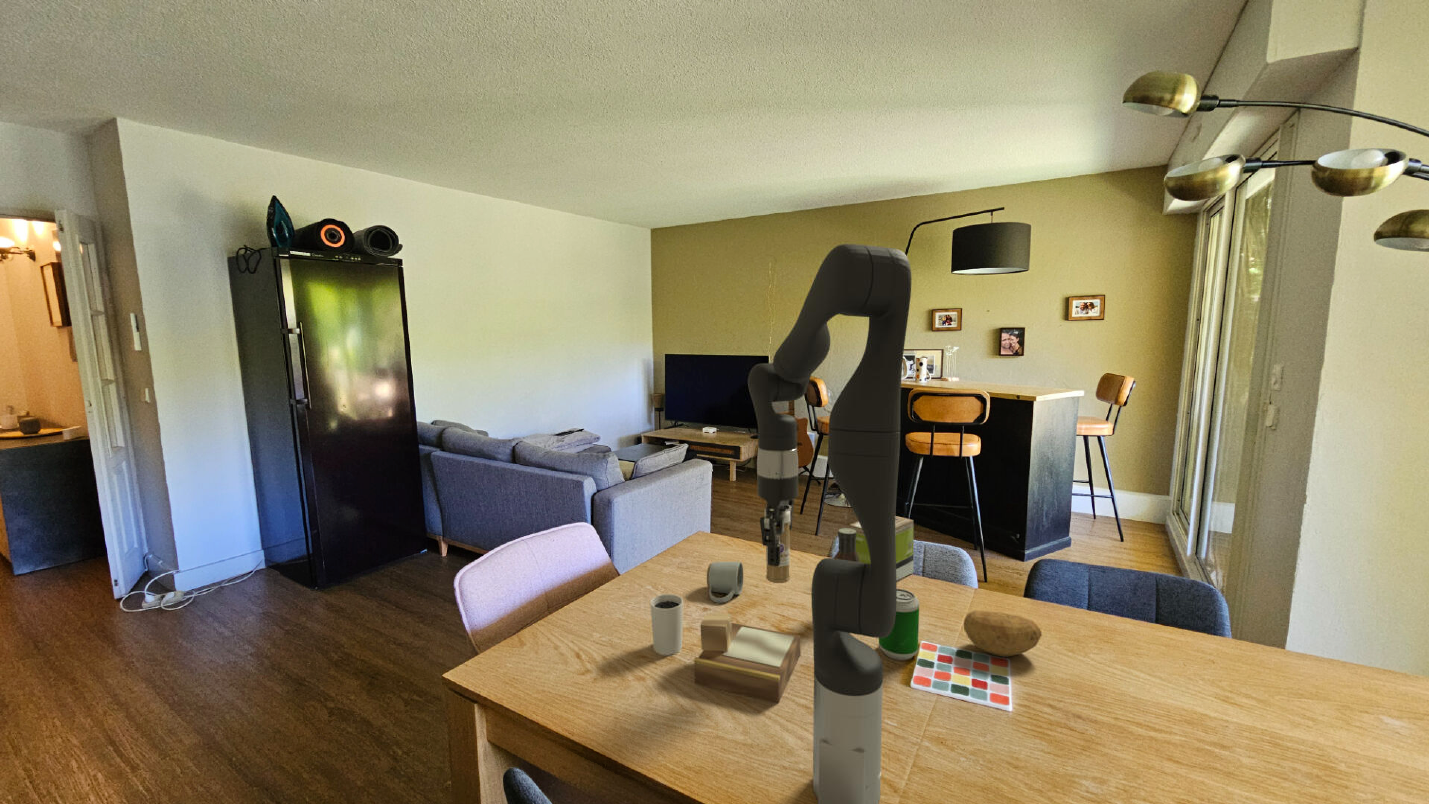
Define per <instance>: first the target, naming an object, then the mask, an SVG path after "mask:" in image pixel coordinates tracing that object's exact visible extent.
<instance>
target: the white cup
mask: <svg viewBox="0 0 1429 804" xmlns="http://www.w3.org/2000/svg"><path fill="white" fill-rule="evenodd" d="M649 603H650V605H649V606H650V615H651V618H650V619H651V629H652V642H653V643H652V644H653V651H654V650H655V651H656V652H657V653H659V654H658V655H660V654H662V655H661V656H672V655H671V654H674V655H675V653H676V654H678V653H679V652H680V651H682V649H681V648H683V629H684V628H683V626H684V625H683V621H684V619H683V618H684V600H683V597H682V596H679V595H677V594H673V593H665V594H663V593H662V594H659V595H656V596H654V597H653V598H651V600H650V602H649ZM655 651H654V652H655ZM656 652H655V653H656ZM677 652H678V653H677ZM657 653H656V654H657Z"/></svg>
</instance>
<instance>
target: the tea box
mask: <svg viewBox="0 0 1429 804" xmlns="http://www.w3.org/2000/svg"><path fill="white" fill-rule="evenodd" d="M849 528H850V529H853V530H856V534H857V537H856V552H857V555H858V558H859V560H860V562H862V563H868V564H871V561H870V554H869V549H868V545H867V541H866V538H865V535H864V533H863V530H862V528H861V525H860V523H859V521H858V520H857V521H856V522H853V523H850V524H849ZM914 534H915V533H914V519H910V518H906V517H901V516H897V515H895V537H896V582H897V581H899V580H901V579H903V578H905V577H906V576H907V577H908V576H909V575H911V574H913V573H914V549H915V548H914V542H915V541H914Z"/></svg>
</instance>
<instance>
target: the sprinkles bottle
mask: <svg viewBox="0 0 1429 804" xmlns="http://www.w3.org/2000/svg"><path fill="white" fill-rule="evenodd" d="M780 520H781V515H780ZM789 523H790V511H788V510H787V514H786V518H785V519H784V524H785V526H784V533H783V534H781V542H780V543H781V545H780V564H779V566H771V565H768V546H765V561H766V575H765V579H766V580H767V581H769V582H770V583H773V584H784V583H787V582H789V581H790V579H791V578H790V577H791V576H790V563H791V562H790V561H791V559H790V558H791V557H790V556H791V555H790V553H791V551H790V550H791V549H790V547H791V546H790V545H791V542H790V541H791V540H790V539H791V536H790V534H789V532H790V530H789ZM779 528H780V526H779V527H776V529H779ZM770 539H771V540H772V537H771V538H770Z"/></svg>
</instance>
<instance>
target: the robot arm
mask: <svg viewBox="0 0 1429 804" xmlns="http://www.w3.org/2000/svg"><path fill="white" fill-rule="evenodd" d="M912 277H913V276H912V268H911V264H910V261H909V259H908V256H907V254H906V253H904V252H903V251H902V250H900V249H898V248H897V249H896V248H892V247H885V246H884V247H883V246H876V245H866V244H856V243H855V244H854V243H844V244H843V243H842V244H839V245H838V244H837V246H835V247H834V248H832V249H831V250H830V251H829V252H828V253H827V255H826V256H825V258H824V259H823V261H822V262H821V264H820V266H819V269H817V273H816V275H815V277H814V279H813V282H812V284H811V287H810V288H809V291H808V293H807V295H806V297H805V299H804V302H803V305H802V307H801V310H800V312H799V315H798V317H797V319H796V322H795V324H794V326H793V327H792V329H791V330H790V332H789V333H788V335H787V336H786V337H785V339H784V340H783V341H782V343H781V344H780V346H778V349H777V350H776V352H775V353H774V355H773V361H772V362H771V363H770V362H769V363H767V362H766V363H758V364H755V365H754V366H753V367H752V368H751V370H750V372H749V373H748V378H747V386H748V387H747V388H748V391H749V394H750V397H751V401H752V404H753V408H754V412H755V417H756V421H757V428H758V429H757V431H758V433H757V435H758V436H757V437H758V438H757V439H758V442H757V443H758V447H757V449H758V450H757V459H756V470H757V471H756V473H757V474H756V475H757V476H756V478H757V479H756V480H757V481H756V482H757V483H756V485H757V489H756V490H757V492H756V493H757V496H758V498H760V499H762V500H764V501H765V502H766V506H765V508H764V513H763V515H764V516H761V517H760V519H759V525H760V533H761V534H760V535H761V541H762V546H763V547H766V546H768V565H771V566H779V564H780V545H781V543H780V542H781V534H783V533H784V526H785V524H784V519H785V518H786V514H787V510H788V511H790V523H789V535H790V532H791V531H792V529H793V517H794V516H793V514H794V504H795V501H794V499H797V497H798V495H799V456H798V424H797V423H798V422H797V420H796V418H795V417H794V416H792V415H790V414H785V413H781V412H780V413H779V412H776V411H775V409H774V408H773V403H780V402H782V403H783V402H793V401H797V400H799V399H801V398H803V397H804V396H805V395H806V393H807V389H808V387H809V381H810V380H811V377H812V374H813V373H814V372H815V371H816V370H817V369H818V367H819V368H820V366H821V365H822V364H823V362H824V361H825V359H826V358H827V356H828V354H829V352H830V349H831V335H830V329H829V326H828V322H829V321H830V320H831V319H832V318H834V317H835V316H838V315H842V316H846V317H858V318H859V317H861V318H868V333H867V337H866V344H865V349H864V352H863V354H862V358H860V359H861V360H860V362H859V364H858V365H857V367H856V368H855V370H854V372H853V373H852V375H851V377H850V378H849V379H848V381H847V383H846V384H845V386H844V387H843V389H842V390H841V392H840V393H839V395H838V397H837V399H836V401H835V403H834V404H833V406H832V409H831V412H830V415H829V418H828V438H827V439H828V440H827V443H828V444H827V463H828V467H829V470H830V473H831V475H832V476H833V479H834V481H835V483H836V484H837V486H838V488H839V490H840V491H841V493H842V495H843V496H844V498H845V499H846V501H847V503H848V505H849V506H850V508H851V510H852V511H853V514H854V515H855V516H856V519H857V522H858V521H859V523H860V525H861V528H862V530H863V533H864V535H865V538H866V541H867V545H868V549H869V554H870V561H871V564H868V563H862V562H855V561H848V560H841V559H834V558H831V557H828V558H827V557H826V558H822V559H821V560H819V562H818V563H817V564H816V566H815V568H814V572H813V575H812V579H811V580H812V582H811V595H810V596H811V617H812V634H813V635H812V637H813V646H812V647H813V715H812V716H813V719H812V720H813V723H812V725H813V726H812V727H813V729H812V730H813V733H812V735H813V737H812V740H813V741H812V761H813V763H812V787H813V788H812V789H813V792H814V794H815V796H816V798H817V804H879V802H880V800H881V781H882V780H881V779H882V776H881V775H882V773H881V772H882V769H881V768H882V767H881V766H882V763H881V762H882V732H883V731H882V730H883V729H882V724H883V692H884V691H883V688H884V687H883V686H884V682H883V681H884V664H883V660H882V658H881V657H880V655H879V653H878V652H877V651H876V650H875V649H874V648H872V647H871V646H869V644H867V643H865V642H863V641H861V640H859V639H858V638H856V637H855V636H853V635H857V636H858V635H859V636H862V637H863V636H864V637H869V638H876V639H877V638H878V639H879V638H885V637H887V636H889V634H890V633H891V631H892V629H893V627H894V623H895V616H896V605H897V589H898V588H897V583H898V582H897V581H896V537H895V516H896V512H897V511H896V510H897V509H896V507H897V495H898V494H897V491H898V481H899V480H898V476H899V467H900V466H899V463H900V452H901V451H900V448H901V446H900V445H901V397H902V396H901V395H902V394H901V393H902V377H903V376H902V374H903V362H904V361H903V360H904V352H905V351H904V350H905V343H906V336H907V328H908V327H907V326H908V320H909V314H910V306H911V296H912ZM780 515H781V520H780ZM779 526H780V528H779V529H776V527H779ZM771 537H772V540H771V539H770V538H771ZM852 634H853V635H852Z"/></svg>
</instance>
